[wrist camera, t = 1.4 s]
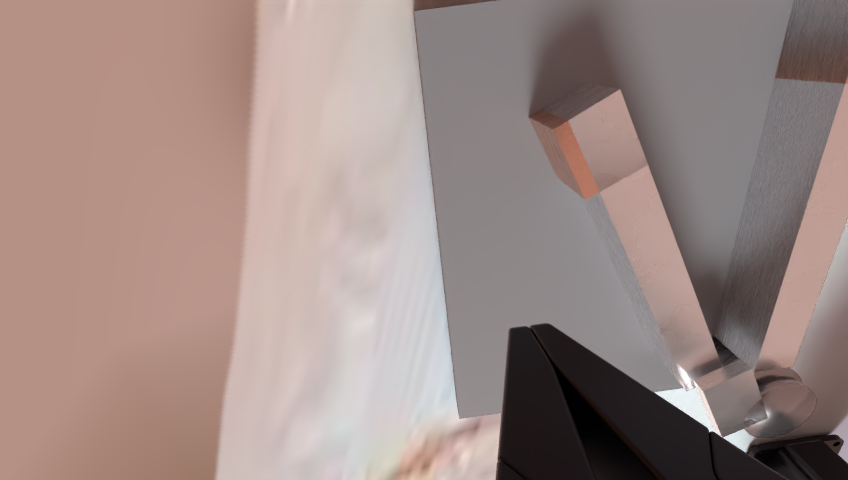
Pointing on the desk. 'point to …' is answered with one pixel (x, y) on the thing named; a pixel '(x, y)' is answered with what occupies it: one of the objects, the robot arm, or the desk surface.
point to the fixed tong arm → (791, 198)
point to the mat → (552, 199)
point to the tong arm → (656, 261)
